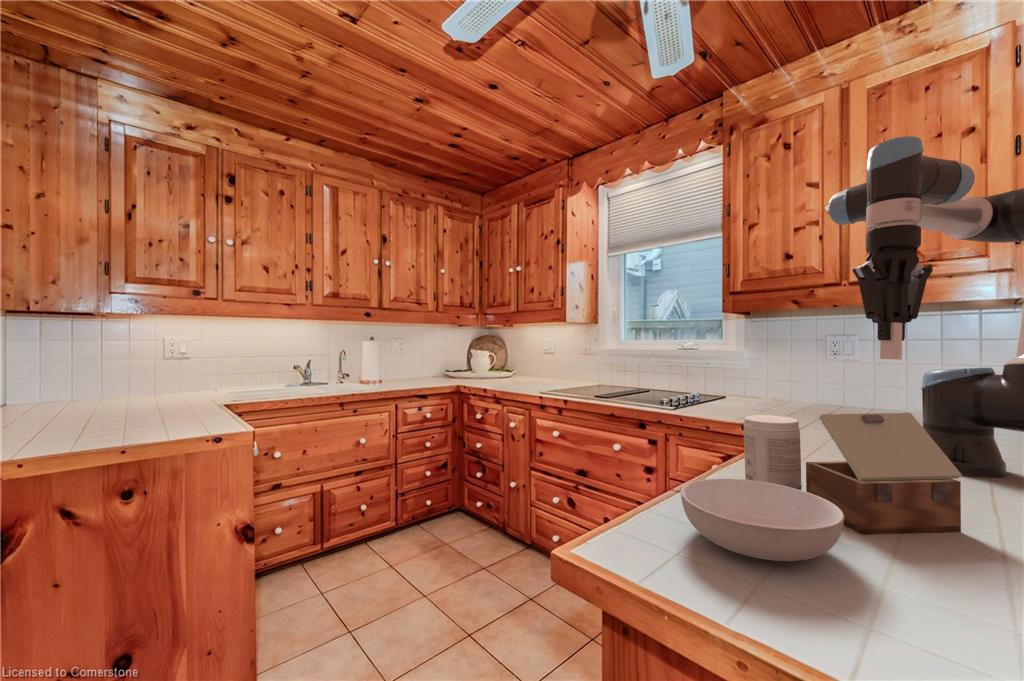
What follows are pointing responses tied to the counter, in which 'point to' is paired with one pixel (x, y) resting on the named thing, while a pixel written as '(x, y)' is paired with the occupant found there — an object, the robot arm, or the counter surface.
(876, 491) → the keepsake box
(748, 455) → the supplement tub
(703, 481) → the serving bowl
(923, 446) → the lid
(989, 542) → the counter surface
